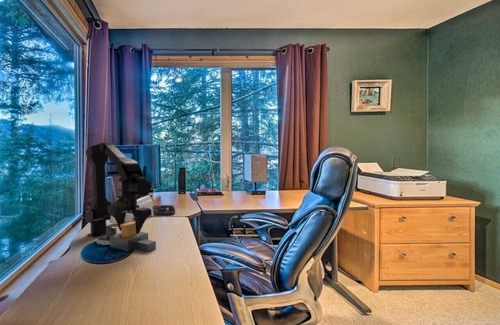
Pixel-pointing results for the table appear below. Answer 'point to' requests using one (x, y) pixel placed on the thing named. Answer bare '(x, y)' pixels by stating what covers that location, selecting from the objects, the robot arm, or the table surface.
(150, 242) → the ring lock bracket
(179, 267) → the table surface
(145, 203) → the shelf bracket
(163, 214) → the black stapler
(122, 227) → the tan stepped block
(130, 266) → the table surface
